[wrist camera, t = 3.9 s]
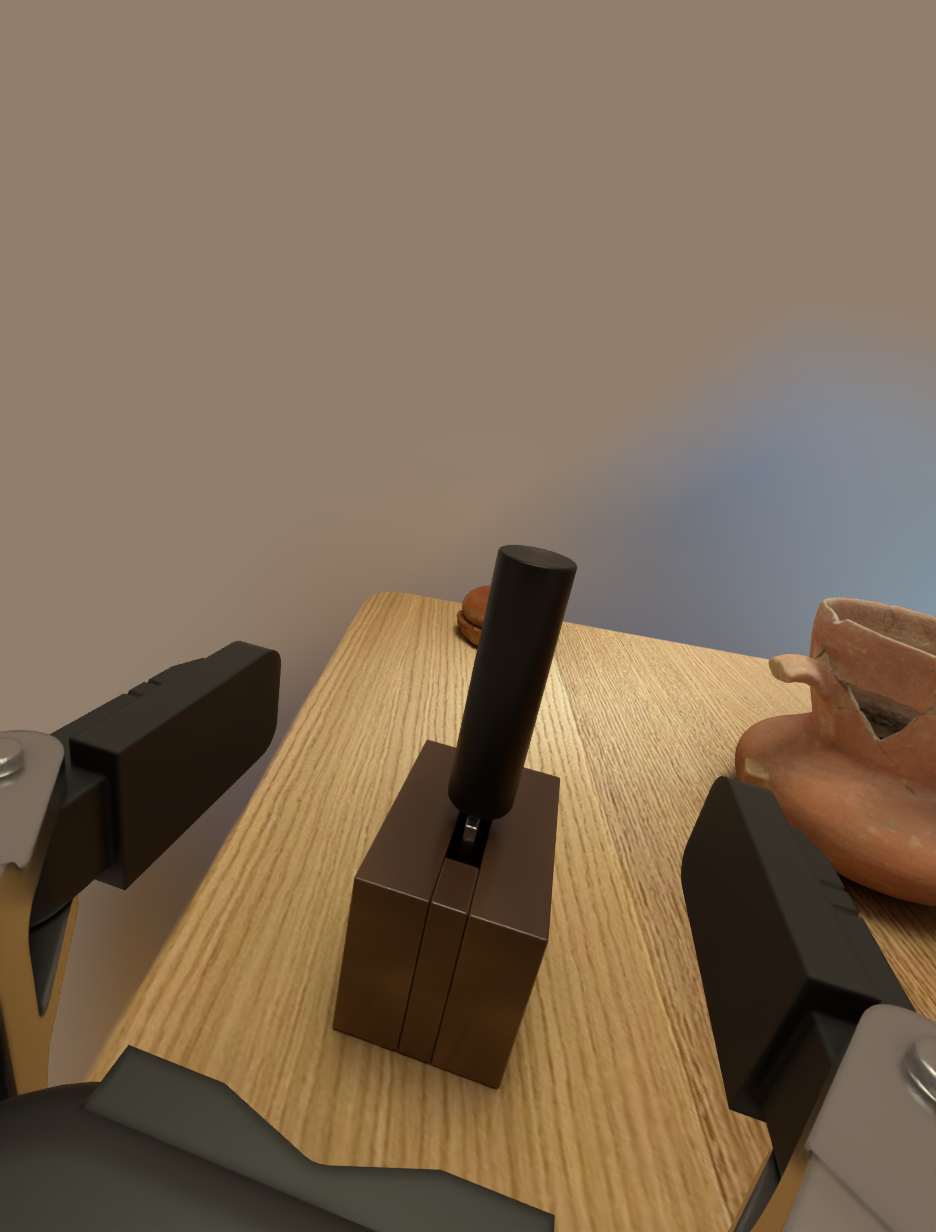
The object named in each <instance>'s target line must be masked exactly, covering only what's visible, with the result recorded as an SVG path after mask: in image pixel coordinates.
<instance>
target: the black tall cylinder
mask: <svg viewBox="0 0 936 1232" xmlns="http://www.w3.org/2000/svg"><path fill="white" fill-rule="evenodd" d="M576 570H577V565H576V563H575V562H573V561H572V560H571V559H569V558H567V557H565V556H563V555H560V554H558V553H555V552H552V551H548V550H545V549H540V548H536V547H530V546H522V545H507V546H502V547H500V549H499V550H498V555H497V559H496V563H495V568H494V573H493V578H492V582H491V587H490V592H489V596H488V601H487V606H486V610H485V615H484V620H483V625H482V629H481V634H480V639H479V643H478V648H477V653H476V658H475V662H474V667H473V672H472V676H471V681H470V686H469V690H468V695H467V700H466V705H465V709H464V714H463V719H462V723H461V728H460V733H459V738H458V742H457V747H456V752H455V756H454V761H453V766H452V770H451V775H450V780H449V785H448V796H449V799H450V801H451V803H452V804H453V805H454V806H455V807H456V808H457V809H458V810H459V811H460V812H462V813H464V814H465V815H467V816H468V819H467V823H466V826H465V830H464V834H463V839H462V843H461V847H460V851H459V856H458V860H457V861H458V862H461V863H464V864H468V865H470V863H471V859H472V855H473V851H474V847H475V843H476V839H477V835H478V831H479V826H480V822H481V820H496V819H499V818H502V817H504V816H505V815H507V814H508V813H509V812H510V811H511V809H512V807H513V804H514V800H515V797H516V793H517V789H518V786H519V782H520V778H521V774H522V771H523V767H524V763H525V760H526V756H527V752H528V748H529V745H530V741H531V737H532V734H533V730H534V726H535V722H536V719H537V715H538V711H539V708H540V704H541V700H542V696H543V693H544V689H545V685H546V682H547V678H548V674H549V671H550V667H551V663H552V659H553V656H554V652H555V648H556V645H557V641H558V637H559V633H560V630H561V626H562V622H563V619H564V615H565V611H566V607H567V604H568V600H569V596H570V593H571V589H572V585H573V581H574V577H575V574H576Z"/></svg>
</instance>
